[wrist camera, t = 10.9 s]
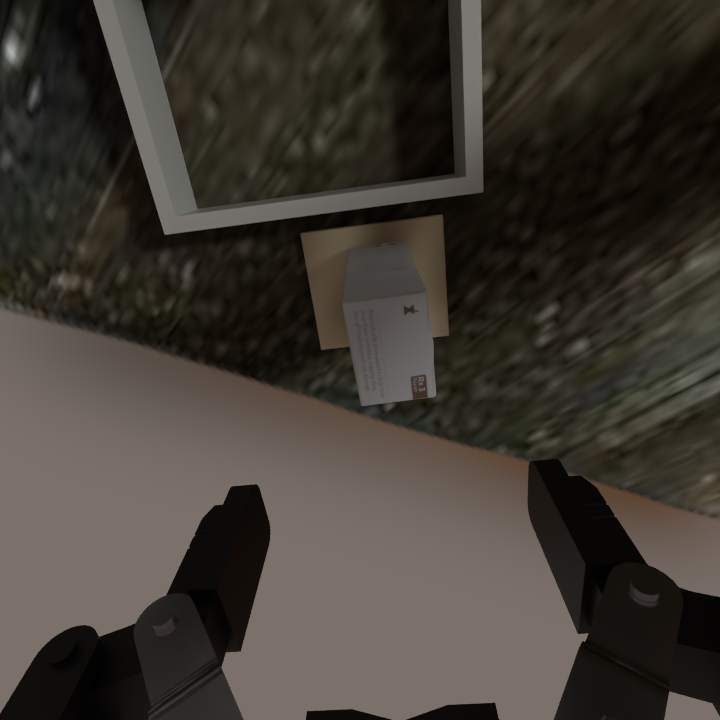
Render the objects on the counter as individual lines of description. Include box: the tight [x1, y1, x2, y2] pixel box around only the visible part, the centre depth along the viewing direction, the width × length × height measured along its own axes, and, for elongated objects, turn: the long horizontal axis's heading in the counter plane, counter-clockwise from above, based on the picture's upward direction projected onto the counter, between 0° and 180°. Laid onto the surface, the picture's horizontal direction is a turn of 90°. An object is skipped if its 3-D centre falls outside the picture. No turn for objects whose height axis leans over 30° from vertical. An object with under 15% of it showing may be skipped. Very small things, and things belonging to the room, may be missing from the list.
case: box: [93, 0, 483, 235], centre depth 26 cm, size 20×15×4 cm
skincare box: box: [342, 241, 436, 406], centre depth 28 cm, size 6×4×12 cm
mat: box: [300, 214, 449, 350], centre depth 33 cm, size 10×9×1 cm
